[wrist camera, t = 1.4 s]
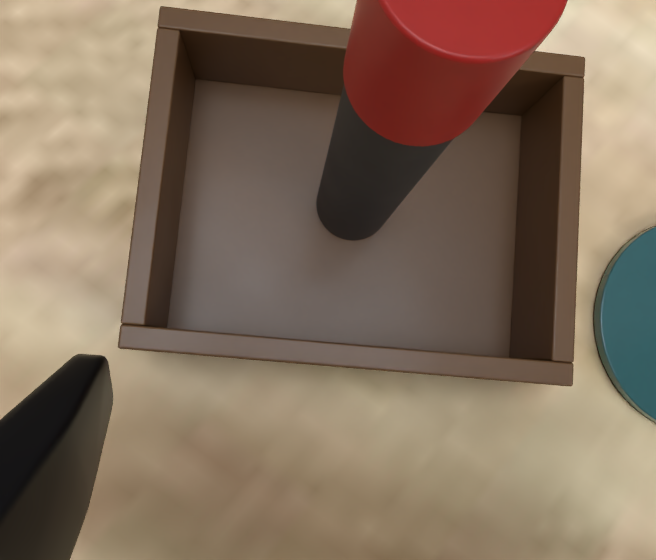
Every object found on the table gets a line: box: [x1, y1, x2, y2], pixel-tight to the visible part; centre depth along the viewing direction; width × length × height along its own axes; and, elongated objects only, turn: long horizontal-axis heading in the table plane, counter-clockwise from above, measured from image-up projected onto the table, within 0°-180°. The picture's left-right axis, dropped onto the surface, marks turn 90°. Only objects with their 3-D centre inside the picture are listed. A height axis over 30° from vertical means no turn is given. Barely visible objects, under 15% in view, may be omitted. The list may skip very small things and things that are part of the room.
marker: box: [316, 0, 568, 240], centre depth 15 cm, size 3×3×14 cm
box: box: [118, 6, 585, 386], centre depth 21 cm, size 10×13×4 cm
